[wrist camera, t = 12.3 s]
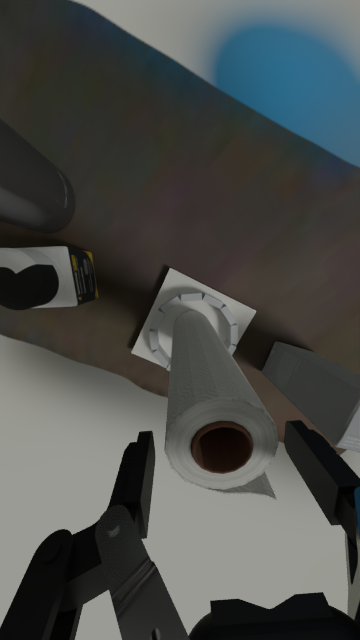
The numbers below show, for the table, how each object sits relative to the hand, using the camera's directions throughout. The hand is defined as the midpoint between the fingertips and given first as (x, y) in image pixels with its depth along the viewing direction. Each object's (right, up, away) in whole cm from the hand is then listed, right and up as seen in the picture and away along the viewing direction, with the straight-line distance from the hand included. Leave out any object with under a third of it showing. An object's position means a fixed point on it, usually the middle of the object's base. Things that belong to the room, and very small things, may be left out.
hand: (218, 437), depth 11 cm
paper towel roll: (0, +5, +19) cm, 20 cm away
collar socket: (0, +5, +21) cm, 21 cm away
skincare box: (+17, 0, +23) cm, 28 cm away
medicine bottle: (-19, +14, +19) cm, 30 cm away
